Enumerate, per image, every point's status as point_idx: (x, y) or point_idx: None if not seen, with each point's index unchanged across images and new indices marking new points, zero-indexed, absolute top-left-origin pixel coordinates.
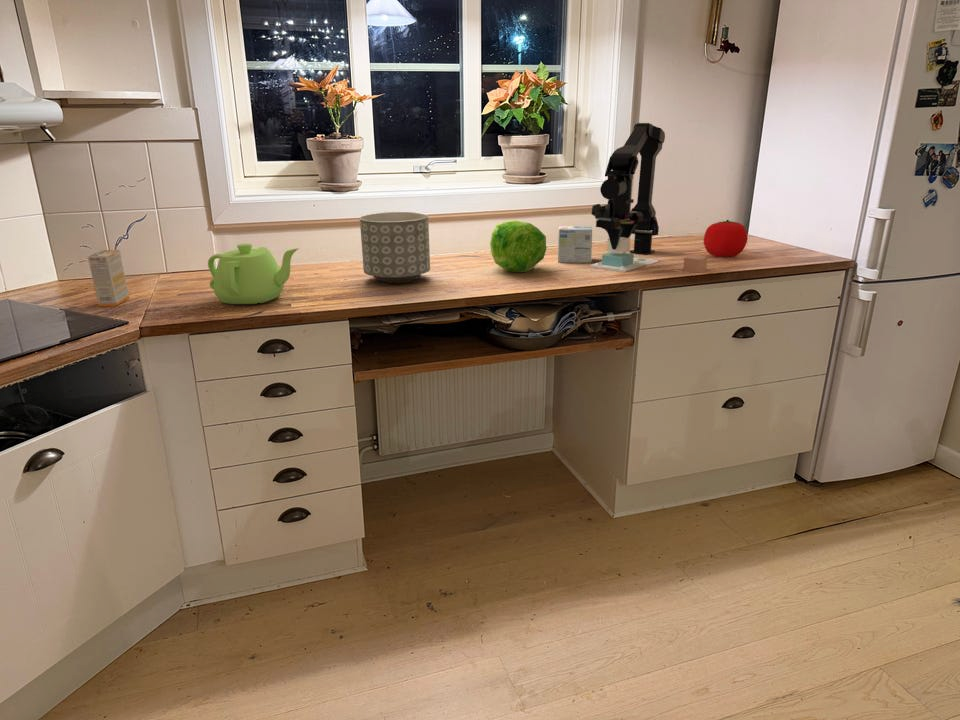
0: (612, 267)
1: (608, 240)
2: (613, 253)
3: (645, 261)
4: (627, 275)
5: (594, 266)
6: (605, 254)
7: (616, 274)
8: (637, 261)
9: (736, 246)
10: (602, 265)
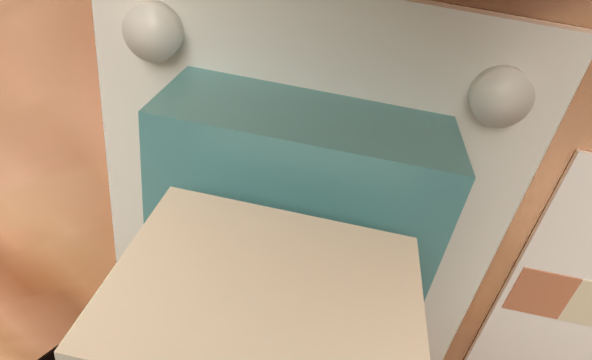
0: (139, 197)
1: (79, 335)
2: (318, 212)
3: (587, 350)
4: (55, 312)
5: (97, 6)
6: (196, 141)
7: (25, 251)
8: (561, 303)
9: None
10: (156, 87)
